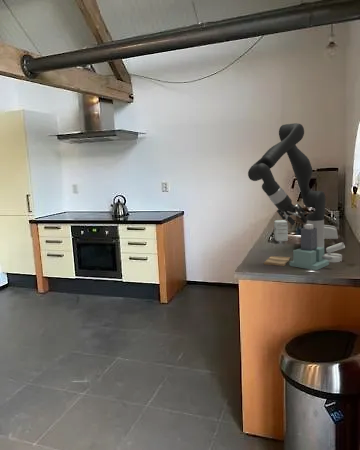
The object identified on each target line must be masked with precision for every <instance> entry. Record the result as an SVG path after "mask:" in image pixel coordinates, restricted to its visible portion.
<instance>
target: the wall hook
mask: <svg viewBox="0 0 360 450" xmlns="http://www.w3.org/2000/svg"><path fill="white" fill-rule="evenodd" d="M345 248H346V246H345V244H344V242H339V243H336V244H333V245H331V246H327V247H326V248H325V252H326V253H324V256H331V257H332V259H331V260H327V259H324V260H327V261H329V263H341V262H342V261H343V254H341V253H334V252H336V251H340V250H343V249H345ZM340 261H341V262H340Z"/></svg>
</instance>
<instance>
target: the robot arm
mask: <svg viewBox="0 0 360 450" xmlns="http://www.w3.org/2000/svg"><path fill="white" fill-rule="evenodd" d="M304 135H305V128H304V126H303V124H301V123H297V122H296V123H286V124H282V125H281V126H280V127H279V129H278V136H279V140H280V142H278V143H276V144H275V145H273V146H271V147H269V149H267V151H265V153H264V154H263V155H262V156H261V158H260V159H258V160H257V161H256V162H255V163H254V164H252V165H251V166H250V167H249V169H248V172H247V176H248V179H249V180H251V181H253V182H258V181H261V180H262V182H263V183H262V184H261V189H262V191H263V192H264V193H265V194H266V195H267V197H268V198H269V200H270V202H272V204H273V205H274V206H275V208H277V211H276V212H277V214H278V215H279V216H280V218H281V220H285V221H287V222H289V224H290V225H291V226H294V225H295V223H296V221H295V220H294V219H293V217H298V218H299V219H300V220H301V222H302V223H304V224H313V228H317V247H322V248H324V249H325V239H324V225H325V215H326V214H325V213H326V195H325V194H326V193H325V192H324V191H323V190H311V188H310V185H309V184H310V181H311V178H312V176H313V167H312V163H311V160H310V159H309V157H308V156H307V155H306V154H305V153H304V152H303V151H301V150H300V149H299V147H298V146H297V144H299V142H301V140H302V139H303V138H304ZM285 154H287V157H288V159H289V161H290V164H291V167H292V171H293V173H294V176H295V178H296V181H297V184H298V188H299V190H300V194H301V198H302V199H301V200H302V202H303V205H304V206H305V207H306V208H311V209H312V208H314V211H313V212H311V213H308V214H307V215H306V216H305V213H306V211H305V210H304V209H303V208H302V206H301V205H300V203H296V204H295V205H294V204H293V203H292V202H293V200H292V199H291V197H289V195H288V194H287V192H286V191H285V190H284V189H283V188H282V187H281V186H280V185H279V183H278V182H277V181H276V180H275V177H274V175H273V172H272V171H271V169H272V168H273V167H275V165H276V164H277V163H278V162H279V160H280V159H281V158H282V157H283V156H284V155H285ZM292 216H293V217H292Z"/></svg>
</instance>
